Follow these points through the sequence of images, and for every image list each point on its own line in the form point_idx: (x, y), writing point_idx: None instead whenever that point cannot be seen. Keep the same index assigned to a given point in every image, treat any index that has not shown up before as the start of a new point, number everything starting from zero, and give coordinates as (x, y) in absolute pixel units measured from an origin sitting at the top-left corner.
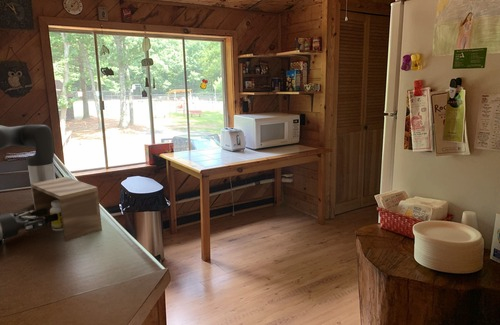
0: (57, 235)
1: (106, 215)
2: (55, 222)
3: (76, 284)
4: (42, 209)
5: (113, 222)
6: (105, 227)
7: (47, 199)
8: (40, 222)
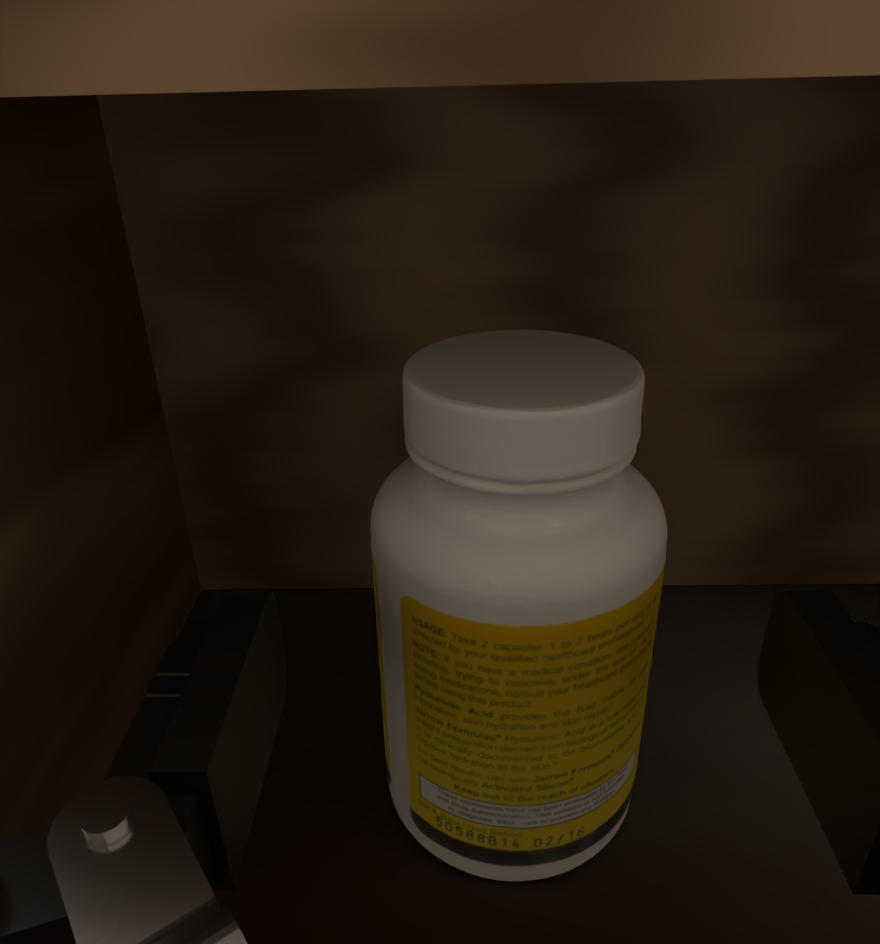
0: (826, 938)
1: None
2: (609, 754)
3: None
4: (253, 645)
5: None
6: None
7: (8, 433)
8: None
